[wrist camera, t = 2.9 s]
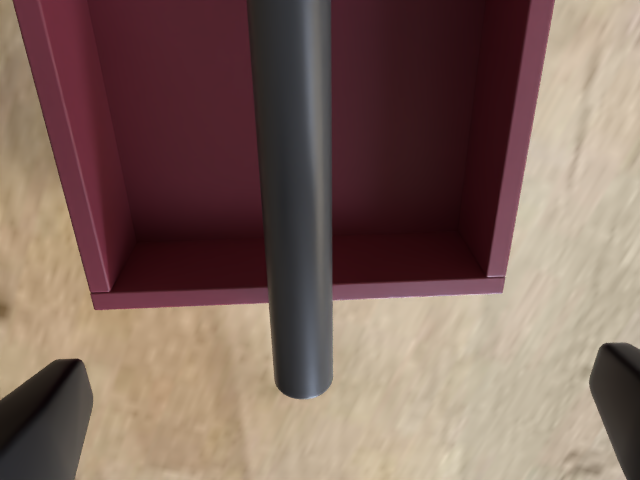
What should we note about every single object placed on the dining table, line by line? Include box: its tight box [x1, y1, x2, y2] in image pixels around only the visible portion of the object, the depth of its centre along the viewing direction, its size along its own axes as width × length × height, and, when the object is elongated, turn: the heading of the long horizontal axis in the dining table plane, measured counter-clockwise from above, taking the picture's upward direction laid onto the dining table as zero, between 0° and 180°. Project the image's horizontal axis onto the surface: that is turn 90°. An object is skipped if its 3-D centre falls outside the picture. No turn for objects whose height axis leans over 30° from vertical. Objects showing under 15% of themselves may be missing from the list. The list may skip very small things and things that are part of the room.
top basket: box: [13, 0, 555, 399], centre depth 13 cm, size 12×10×7 cm
